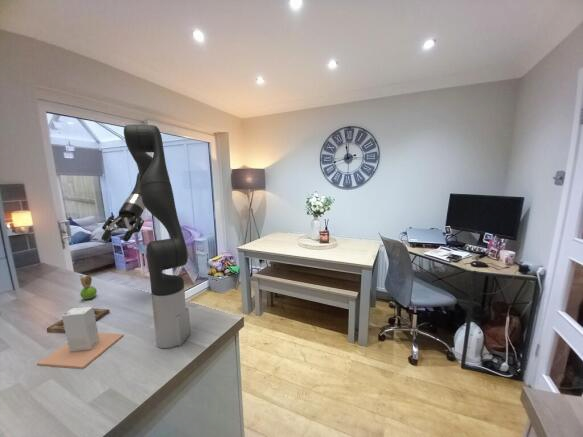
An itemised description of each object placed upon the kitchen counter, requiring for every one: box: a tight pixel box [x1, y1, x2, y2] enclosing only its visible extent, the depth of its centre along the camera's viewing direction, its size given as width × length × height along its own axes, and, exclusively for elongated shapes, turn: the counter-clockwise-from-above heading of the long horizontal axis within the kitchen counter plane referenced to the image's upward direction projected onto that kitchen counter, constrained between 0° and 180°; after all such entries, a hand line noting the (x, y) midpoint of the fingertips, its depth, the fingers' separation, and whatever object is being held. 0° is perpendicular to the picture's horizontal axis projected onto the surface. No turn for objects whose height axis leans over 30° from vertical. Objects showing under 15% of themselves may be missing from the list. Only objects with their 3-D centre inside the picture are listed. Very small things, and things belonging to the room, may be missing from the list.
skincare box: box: [61, 306, 99, 352], centre depth 71 cm, size 6×4×12 cm
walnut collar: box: [46, 308, 110, 334], centre depth 86 cm, size 11×13×2 cm
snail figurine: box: [79, 274, 98, 300], centre depth 102 cm, size 5×6×12 cm
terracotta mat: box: [36, 332, 125, 370], centre depth 72 cm, size 14×14×1 cm
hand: (114, 240), depth 89 cm, fingers open, 8 cm apart
